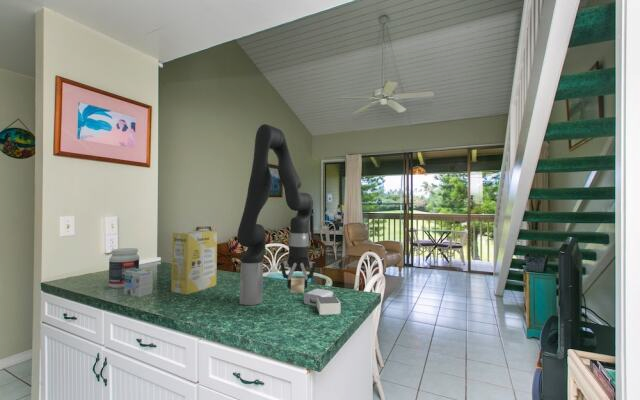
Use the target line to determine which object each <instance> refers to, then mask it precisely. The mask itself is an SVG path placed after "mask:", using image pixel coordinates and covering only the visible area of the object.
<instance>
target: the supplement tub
mask: <svg viewBox="0 0 640 400" xmlns="http://www.w3.org/2000/svg"><path fill="white" fill-rule="evenodd" d="M138 252H139V249H138V248H135V247H124V248H123V247H122V248H115V249H112V250H111V251H110V254H111V256H110V257H109V259H108V260H109V261H108V286H109V287H110V288H113V289H124V282H125V271H128V270H133V269H140V255H139V254H138Z"/></svg>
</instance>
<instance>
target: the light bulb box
mask: <svg viewBox="0 0 640 400" xmlns="http://www.w3.org/2000/svg"><path fill="white" fill-rule="evenodd" d="M153 280H154V270H152V269H143V268H139V269H133V270H128V271H125V282H124V288H123V294H124V295H127V296H130V297H131V296H132V297H137V298H140V297H144V296H148V295H151V294H153V285H154V284H153V283H154V282H153Z"/></svg>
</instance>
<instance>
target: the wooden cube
mask: <svg viewBox="0 0 640 400" xmlns="http://www.w3.org/2000/svg"><path fill="white" fill-rule="evenodd" d="M304 282H305V279H304V275H292V277H291V289H289V290H290V294H291V293H293V294H295V293H297V294H298V293H301V294H305V289H304Z"/></svg>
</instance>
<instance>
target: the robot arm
mask: <svg viewBox="0 0 640 400" xmlns="http://www.w3.org/2000/svg"><path fill="white" fill-rule="evenodd" d="M254 139H255V140H254V150H253V160H252V166H251V171H250V172H251V173H250V177H249V182H248V186H247V187H248V188H247V193H246V194H247V195H246V199H245V204H244V208H243V213H242V216H241V220H240V223H239V226H238V230H237V241H238V243H239V244H240V246H242V247H245V248H246V247H247V249H246V251H245V252H244V253H243V254H241V257H240V281H239V305H245V306H255V305H259V304H261V303H263V297H264V296H263V293H264V292H263V291H264V290H263V289H264V288H263V286H264V285H263V284H264V279H263V278H264V257H265V255H266V254H265V253H266V245H267V243H266V242H267V235H266V228H264V226H263V225H262V224H260V223H257V222H258V217H259V214H260V213H261V210H262V209H263V208H264V206H265V205H266V203H267V201H268V200H269V197H270V194H271V189H272V184H273V178H272V174H271V170H270V166H269V152H270V150H272V151H273V152H274V154H275V155H276V157H277V163H278V165H277V173H278V174H277V175H278V176H279V180H280V182H281V184H282V186H283V188H284V189H283V190H284V195H285V202H286V205H287V206H288V208H289V209H290V210H291V211H294V212H297V214H296V215H295V216H294V217H292V218H291V219H290V223H289V224H290V225H289V228H290V229H289V230H290V231H289V238H288V258H287V260H286V261H280V269H281V274H282V278H283V279H286V281H287V284H286V286H287V288H288V290H290V289H291V277H292V276H294V272H302V274H303V275H302V276H304V279H305V282H304V290H306V289H307V288H308V283H309V281H308V280H309V279H313V277H314V274H315V269H316V267H317V263H316V262H315V261H310V260H309V242H310V239H309V227H310V226H309V225H310V224H309V223H310V219H311V216H312V212H313V209H314V200H313V197H312V195H311V194H309V193H307V192H300V191H299V189H300V188H301V186H302V180H301V178H300V177H299V175H298V172H297V170H296V168H295V166H294V164H293V160H292V158H291V153H290V149H289V148H288V143H287V139H286V137H285V134H284V132H283V130H281V129H279V128H278V127H274V126H273V125H271V124H270V125H269V124H266V123H263V124H261V125H260V126H259V127H258V129H257V130H256V133H255V138H254ZM287 265H288V267H289V268H290V269H289V270H288V271H289V272H288V273H286V267H287ZM308 266H309V267H310V270H309V272H308V274H307V270H306V268H307V267H308Z"/></svg>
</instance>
